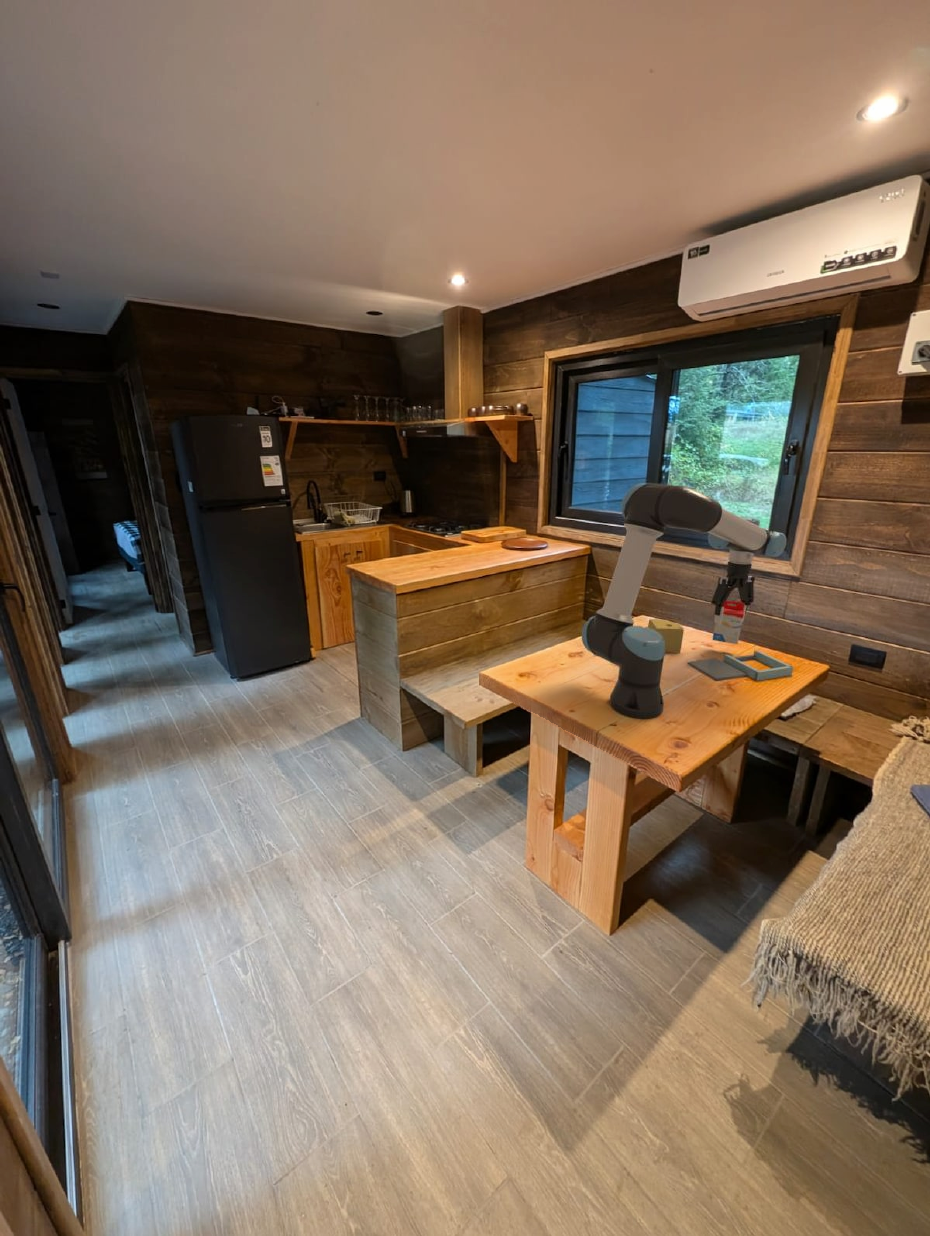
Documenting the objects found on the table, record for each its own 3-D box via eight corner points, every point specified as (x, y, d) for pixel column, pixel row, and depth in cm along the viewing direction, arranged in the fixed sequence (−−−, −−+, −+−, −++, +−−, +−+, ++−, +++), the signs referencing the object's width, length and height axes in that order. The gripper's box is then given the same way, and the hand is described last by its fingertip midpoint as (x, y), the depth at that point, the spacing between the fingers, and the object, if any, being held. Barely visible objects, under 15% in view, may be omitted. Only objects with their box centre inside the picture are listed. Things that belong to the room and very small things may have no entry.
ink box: (712, 640, 185) (718, 602, 180) (712, 636, 189) (719, 599, 184) (738, 644, 181) (745, 606, 177) (738, 640, 186) (745, 602, 181)
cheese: (673, 643, 196) (676, 619, 193) (681, 654, 186) (685, 629, 183) (645, 642, 197) (648, 618, 194) (652, 653, 187) (655, 628, 184)
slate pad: (716, 680, 165) (716, 678, 164) (687, 663, 177) (687, 661, 177) (746, 676, 168) (746, 674, 168) (715, 659, 181) (716, 657, 180)
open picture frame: (757, 680, 165) (758, 672, 164) (722, 662, 178) (724, 654, 177) (791, 675, 168) (793, 667, 167) (755, 657, 182) (757, 650, 181)
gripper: (722, 565, 170) (711, 628, 177) (773, 562, 175) (761, 623, 182) (706, 561, 176) (696, 621, 184) (756, 558, 182) (744, 616, 189)
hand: (728, 622), depth 183 cm, fingers closed on ink box, 9 cm apart
